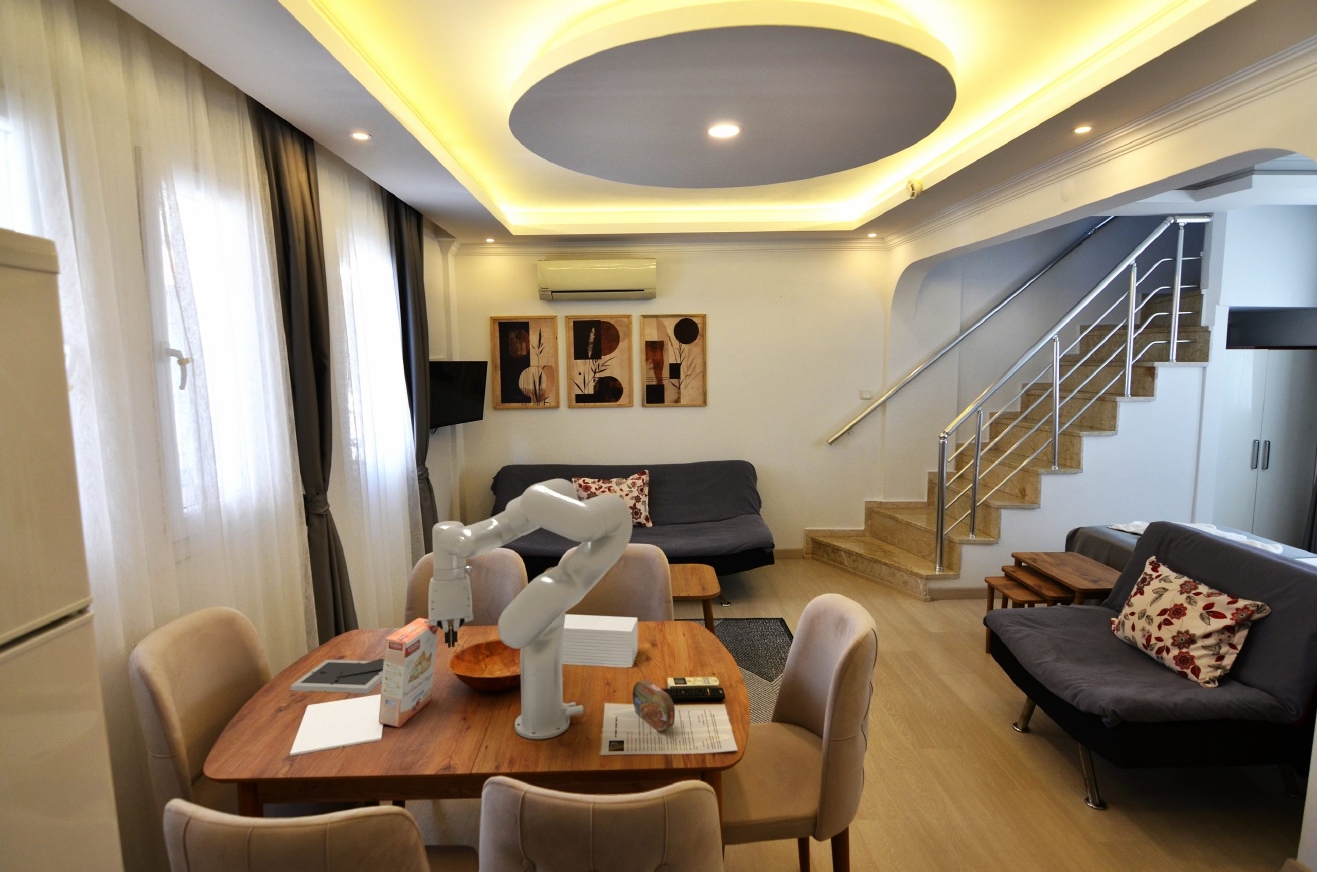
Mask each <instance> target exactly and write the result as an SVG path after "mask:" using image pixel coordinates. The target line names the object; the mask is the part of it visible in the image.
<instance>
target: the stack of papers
mask: <svg viewBox="0 0 1317 872" xmlns="http://www.w3.org/2000/svg"><path fill="white" fill-rule="evenodd" d="M638 619H639V618H638V617H633V616H629V617H628V616H611V615H610V616H609V615H591V614H590V615H588V614H586V615H585V614H570V613H569V614H566V613H565V624H564V630H563V640H562V665H576V666H577V665H578V666H592V667H593V666H595V667H611V668H612V667H614V668H627V667H632V668H633V666H634V663H635V661H636V658H635V657H637V655H638V653H639V651H638V650H639V647H638V646H639V645H638V644H639V643H638V642H639V641H638V639H639V638H638V636H639V633H638V632H639V624H638V623H639V622H638V621H639V620H638ZM637 652H638V653H637ZM636 654H637V655H636ZM634 660H635V661H634Z"/></svg>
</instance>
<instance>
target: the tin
mask: <svg viewBox="0 0 1317 872" xmlns="http://www.w3.org/2000/svg"><path fill="white" fill-rule="evenodd" d="M673 701H674V700H673V699H672V697H671V695H669V693H668V692H666V691H664V690H663V689H662V688H661V687H659V686H657V685H656V684H655V683H653V682H651V681H649V680H643V681H637V682H635V684H634V686H633V688H632V702H633V707H634V710H635V712H636V713H637V715H638V716H639V718H640V719H642V720H644V721H645V722H646V723H647V724H648V725H650V726H651V728H653V729H654V730H656V731H658V732H664V731H665V730H668V729H671V728H672V727H673V726H674V724H675V718H676V717H675V716H676V715H675V713H676V711H675V709H676V708H675V705H674V702H673Z"/></svg>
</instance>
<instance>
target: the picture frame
mask: <svg viewBox="0 0 1317 872" xmlns="http://www.w3.org/2000/svg"><path fill="white" fill-rule="evenodd" d="M383 664H384V658H378V659H375V660H351V659H350V660H348V659H347V660H346V659H345V660H344V659H325V660H324V661H321V663H320V664H318V665H317V666H315V667H314V668H313V669H311V670H310V671H309V672H307V673H305V674H304V675H303V676H301V677H300V678H299V679H298V680H296V681H294V683H291V684H290V691H291V690H292V691H291V692H308V691H327V692H326V693H333V692H350V693H349V694H359V693H364V695H368V694H369V693H370V692H371V691H373V690H374V689H375V688H376V687H377V686H378V685H379V684H380V683H382V676H383ZM293 690H294V691H293ZM328 691H329V692H328Z"/></svg>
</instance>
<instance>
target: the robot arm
mask: <svg viewBox="0 0 1317 872" xmlns="http://www.w3.org/2000/svg"><path fill="white" fill-rule="evenodd" d="M540 528H542V529H544V530H547V531H550V532H552V533H553V534H554V533H555V534H556V535H559V536H561V537H564V538H567V540H571V541H574V542H577V543H580V544H579V545H578V546H577V547H576V549H574V551H573V552H572V553H571V554H570V555H569V556H568V557H567V558H566V559H565V560H564V561H562V562H561V563H560V564H558V565H557V566H554V567H553V568H551V569H548V570H546V571H545V572H542V573H541V574H539V575H537V576H536V577H534V578H533V579H532V580H531V581H530V582H529V583H528V584H527V585H526V586H525V587H524V588H523V589H522V590H521V591H520V592H519V593H518V594H517V595H516V597H514V598H513V599H512V601H511V602H510V603H509V604H508V605H507V606H506V607H505V608H504V609H503V611H502V613H501V614H500V616H499V618H498V622H497V633H498V637H499V638H500V640H501V642H502V643H503V644H504V645H505V646H507V647H509V648H511V649H517V650H519V649H520V654H519V655H520V656H519V657H520V663H519V664H520V694H521V695H520V702H521V703H520V705H521V706H520V709H521V710H520V711H521V714H520V715H519V716H518V717H517V718H516V719H515V721H514V731H515V732H516V734H518V735H519V736H521V737H523V738H525V739H530V740H545V739H550V738H553V737H556V736H559V735H561V734H562V733H565V731H566V730H567V729H568V728H569V726H570V725H571V724H570V722H571V721H570V720H571V719H570V717H571V716H573V715H575V716H576V715H582V714H584V706H583V704H580V705H576V702H575V701H573V702H572V701H571V702H569V703H566V702H564V700H563V698H564V697H563V696H564V693H563V664H562V640H563V630H564V624H565V614H566V612H567V611H569V610H570V609H572V608H573V607H575V606H576V605H577V604H579V603H580V602H581V601H582V600H583V599H584V597H585V596H586V595H587V594H588V593H589V592H590V591H591V590H592V589H593V588H594V587H595V585H596V584H598V582H600V580H601V579H603V577H604V576H605V575H606V573H608V572H609V570H611V568H612V567H613V566H614V565H615V564H616V563H617V562H618V560H619V559H620V558H621V557H622V555H623V554H624V552H625V551H626V549H627V547H628V545H629V543H630V540H631V538H632V533H633V517H632V513H631V509H630V507H629V505H628V504H627V502H626V501H625V500H624V498H622V497H621V496H619V495H616V494H611V493H608V494H600V495H597V496H594V497H591V498H588V499H585V500H583V501H581V500H578V491H577V488H576V487H575V485H574V484H573V483H572V482H570V481H569V480H567V479H565V478H554V479H553V478H552V479H549V480H545V481H542V482H537V483H534V484H532V485H530V486H529V487H527V488H526V489H525V490H524V492H523V493H522V494H520V495H519V496H518V497H515V498H513V499H511V500H510V501H508V502H507V504H506V506H505V510H504V511H501V512H500V513H498V514H496V515H494V516H491V517H489V518H488V519H484V520H482V521H478V522H475V523H473V524H469V525H464V523H462V522H461V521H456V520H445V521H440V522H438V523H435V524H434V525H433V527H432V563H433V565H432V566H433V567H432V570H433V575H432V577H431V578H430V581H429V583H428V599H427V600H428V603H427V605H428V606H427V608H428V611H427V612H428V618H427V620H428V625H434V626H438V628H439V629H441V631H443V632H444V644H445V645H446V644H447V648H448V649H450V648H455V647H456V643H458V642H459V641H458V639H459V638H458V631H459V630H460V629H461V627H462V626H463V625H464V623H467V622H470V621H473V620H474V614H473V601H472V600H473V598H472V587H471V581H470V576H469V574H468V573H469V572H471V573H472V572H473V566H472V565H467V564H466V563H467V561H466V560H468V559H469V560H471V559H473V558H476V557H479V556H481V555H483V554H487V553H488V552H491V551H494V550H496V549H498V548H500V547H503V546H505V545H507V544H508V543H510V542H513V541H515V540H516V539H519V538H520V537H522V536H526V535H528V534H530V533H533V532H534V531H536V530H538V529H540ZM450 620H453V625H451V628H450V625H449V623H448V621H450Z"/></svg>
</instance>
